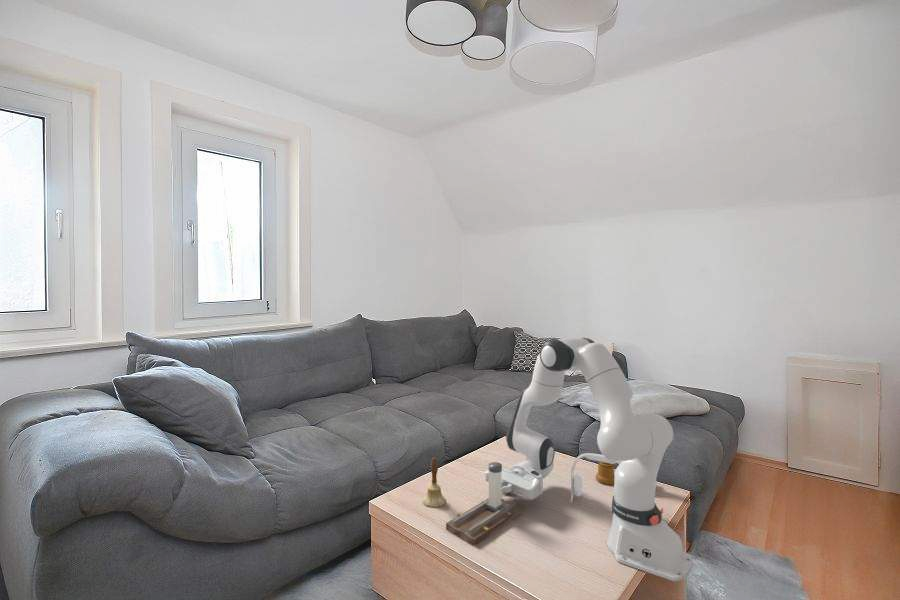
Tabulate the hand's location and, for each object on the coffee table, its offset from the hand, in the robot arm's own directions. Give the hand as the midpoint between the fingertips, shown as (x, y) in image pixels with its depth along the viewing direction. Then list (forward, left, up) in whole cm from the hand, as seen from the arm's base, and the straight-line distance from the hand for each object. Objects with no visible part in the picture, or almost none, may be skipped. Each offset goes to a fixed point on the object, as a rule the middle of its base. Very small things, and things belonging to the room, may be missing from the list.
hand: (498, 490), depth 147 cm
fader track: (0, +7, -8) cm, 10 cm away
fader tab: (0, +1, -6) cm, 6 cm away
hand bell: (+21, +10, -8) cm, 25 cm away
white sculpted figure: (-30, -51, -8) cm, 60 cm away
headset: (-22, -29, -8) cm, 37 cm away
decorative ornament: (+8, -13, -8) cm, 17 cm away
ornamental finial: (-16, -47, -8) cm, 51 cm away
